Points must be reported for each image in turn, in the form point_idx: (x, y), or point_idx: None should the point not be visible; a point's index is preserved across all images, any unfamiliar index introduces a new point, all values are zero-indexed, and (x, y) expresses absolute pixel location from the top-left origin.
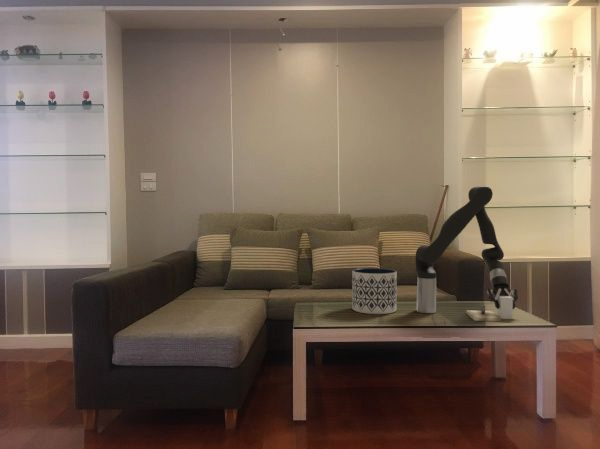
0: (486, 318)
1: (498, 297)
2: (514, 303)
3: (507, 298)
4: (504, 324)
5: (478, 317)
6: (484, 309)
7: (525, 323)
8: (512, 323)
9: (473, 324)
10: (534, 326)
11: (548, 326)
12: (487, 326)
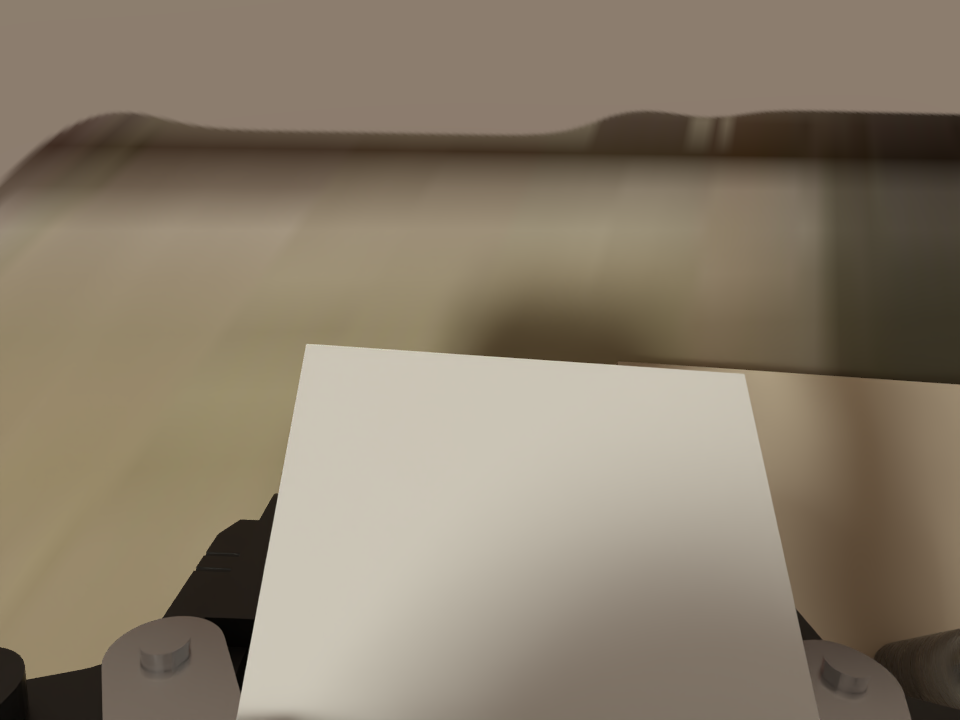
0: (829, 383)
1: (784, 707)
2: (199, 582)
3: (497, 376)
4: (601, 220)
5: (953, 387)
6: (955, 631)
7: (299, 267)
8: (482, 265)
9: (952, 220)
10: (272, 140)
11: (89, 137)
12: (802, 149)
